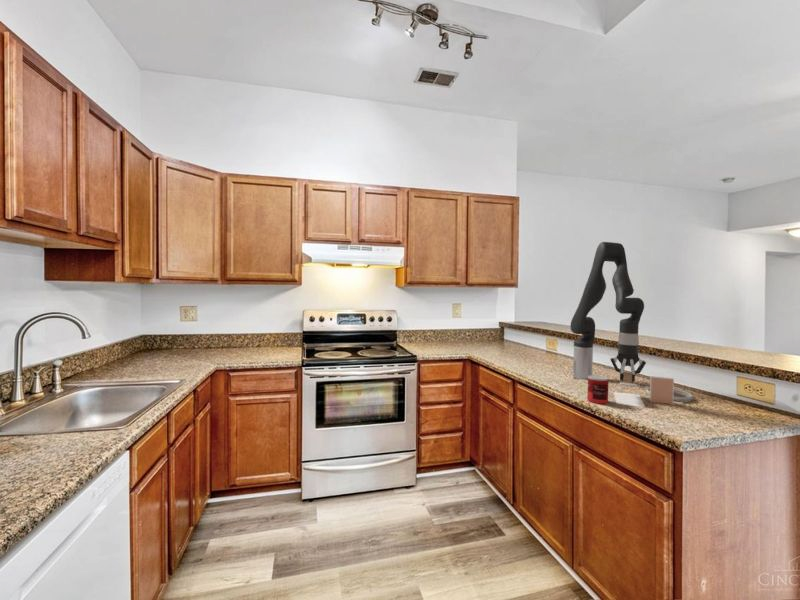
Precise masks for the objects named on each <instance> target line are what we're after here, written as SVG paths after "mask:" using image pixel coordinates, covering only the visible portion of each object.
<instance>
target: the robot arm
mask: <svg viewBox="0 0 800 600" xmlns="http://www.w3.org/2000/svg"><path fill="white" fill-rule="evenodd" d="M605 262H611V263H612V262H613V263H614V264H615V266H616V269H615V271H614V273H613V276H612V280H611V281H612V282H611V283H612V286H613V289H614V292H615V309H616V311H617V312H618V314H623V315H624V314H626V315H628V314H629V315H630V316H629V317H627V318H623V319H621V320H620V321H619V329H618V330H619V332H618V340H617V343H618V344H617V345H618V346H617V347H618V349H617V355H616V356H615V357H610V361H611V364H612V366H613V368H614V370H615V372H618V373H619V380H620V381H621V383H622V382H623V378H624V374H623V373H624V372H625V368H626V367H630V372H631V373H632V384H634V382H635V379H636V375H638V374H641V372H642V371H643V369H644V367H645V366H646V364H647V362H646V361H645V360H643V359H640V357H639V344H640V340H639V338H640V337H639V324H640V321H641V317H642V314H643V312H644V309H645V303H644V301H643V299H642V298H640V297H630V296H632V295H633V294H634V291H635V289H634V286H633V283H632V282H631V281H632V280H631V278H630V276H629V269H628V262H627V256H626V249H625V246H624V245H623V244H622V243H619V242H611V241H610V242H609V241H602V242H600V243H599V244H598V246H597V248H596V251H595V254H594V257H593V262H592V265H591V270H590V272H589V275H588V278H587V281H586V284H585V285H584V286H585V287H584V289H583V293H582V295H581V299H580V300H579V302H578V303H579V304H578V305H577V308H576V310H575V313H574V314H573V316H572V319H571V321H570V330H571V332H572V333H573V334H575V335H581V336H580V337H578V339H576V340H574V341H573V367H572V369H573V374H572V377H573V378H572V379H577V380H584V381H588V376H589V375H593V372H594V371H593V370H594V369H593V367H594V366H593V363H594V362H593V361H594V360H593V359H594V357H593V354H594V351H593V350H594V343H595V335H596V322H595V320H594V318H592V317H591V316H588V315H589V313H590V311H591V310H593V309H594V307H596V306H597V305H598V304H599V303H600V302H601V301H602V299H603V297H604V295H605V292H606V290H607V283H606V280H605V276H604V273H603V269H604V264H605ZM617 360H618V362H619V364H621V365H620V368H618V365H617V363H618V362H617ZM637 363H638V364H639V365H638V367H637V368H635V365H637ZM635 369H636V370H635Z"/></svg>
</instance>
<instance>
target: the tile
mask: <svg viewBox="0 0 800 600" xmlns="http://www.w3.org/2000/svg"><path fill="white" fill-rule="evenodd" d="M674 380H675V378H674V377H664V376H654V375H650V376H649V386H650V387H649V388H650V395H649V401H650V402H653V403H662V404H663V403H664V404H671V405H673V404H674V401H673V393H674V389H675V388H674V387H675V385H674V383H675V381H674Z"/></svg>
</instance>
